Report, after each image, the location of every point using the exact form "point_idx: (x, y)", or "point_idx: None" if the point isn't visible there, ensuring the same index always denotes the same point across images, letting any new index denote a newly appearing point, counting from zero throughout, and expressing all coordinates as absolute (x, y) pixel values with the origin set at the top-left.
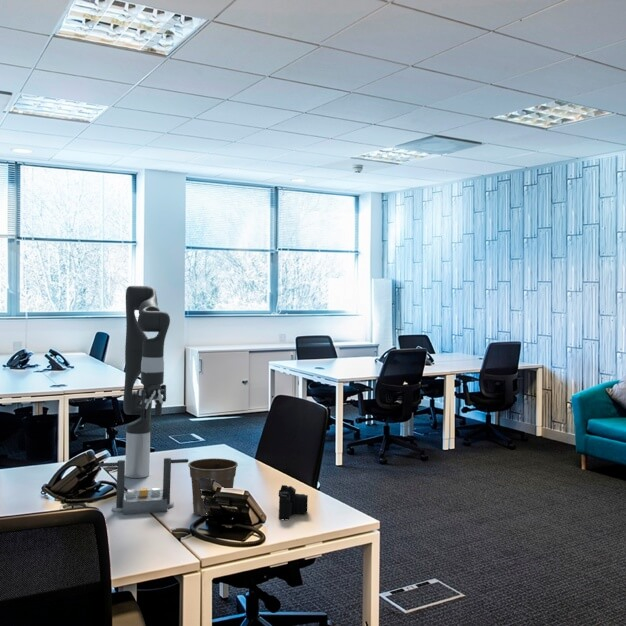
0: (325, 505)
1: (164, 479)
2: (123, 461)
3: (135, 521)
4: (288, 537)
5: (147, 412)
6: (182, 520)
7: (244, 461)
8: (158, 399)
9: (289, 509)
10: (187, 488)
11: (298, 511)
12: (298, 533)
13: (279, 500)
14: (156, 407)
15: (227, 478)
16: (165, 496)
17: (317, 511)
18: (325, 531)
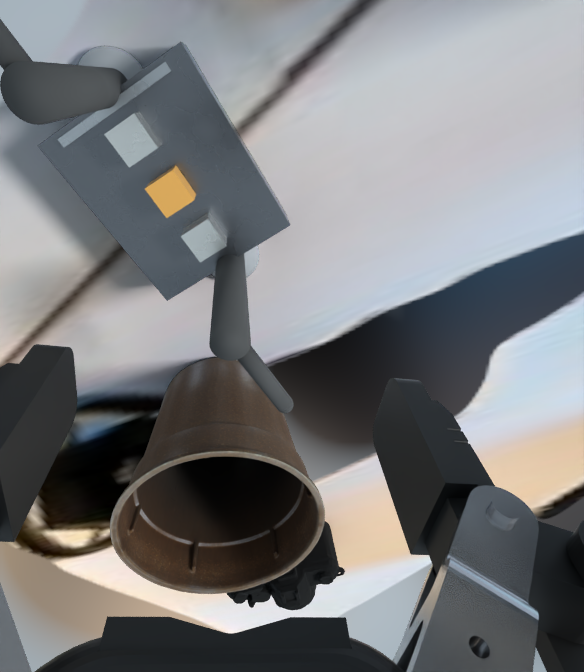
0: (360, 578)
1: (214, 291)
2: (28, 118)
3: (17, 225)
4: (118, 581)
5: (35, 491)
6: (111, 360)
7: None
8: (399, 653)
9: None
10: (467, 235)
11: None
12: (151, 587)
13: None
14: (418, 463)
15: (182, 548)
16: (199, 278)
17: None
18: (187, 614)
